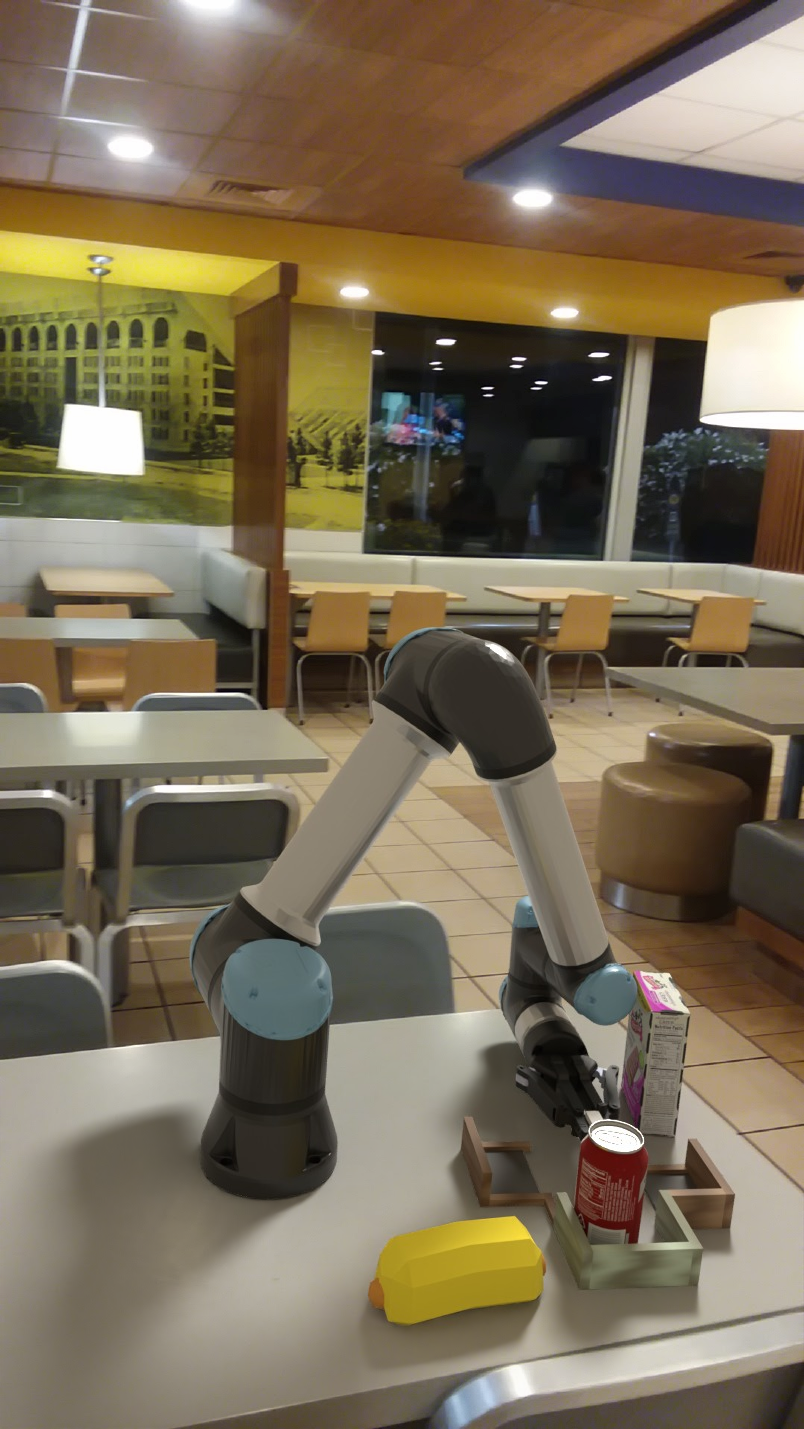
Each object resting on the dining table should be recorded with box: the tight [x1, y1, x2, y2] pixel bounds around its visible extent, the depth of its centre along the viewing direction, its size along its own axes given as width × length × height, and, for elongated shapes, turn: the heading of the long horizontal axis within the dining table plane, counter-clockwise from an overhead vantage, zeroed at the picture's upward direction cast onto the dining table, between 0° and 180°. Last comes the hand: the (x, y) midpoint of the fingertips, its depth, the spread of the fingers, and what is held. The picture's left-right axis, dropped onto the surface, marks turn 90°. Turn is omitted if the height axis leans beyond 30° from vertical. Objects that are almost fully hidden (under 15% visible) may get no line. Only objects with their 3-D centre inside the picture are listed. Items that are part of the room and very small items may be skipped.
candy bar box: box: [620, 970, 691, 1138], centre depth 133 cm, size 11×5×16 cm, turn 179°
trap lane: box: [460, 1116, 736, 1291], centre depth 114 cm, size 26×23×4 cm
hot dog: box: [367, 1215, 547, 1327], centre depth 100 cm, size 18×7×8 cm
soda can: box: [572, 1120, 650, 1245], centre depth 108 cm, size 7×7×12 cm
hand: (608, 1156), depth 113 cm, fingers closed
